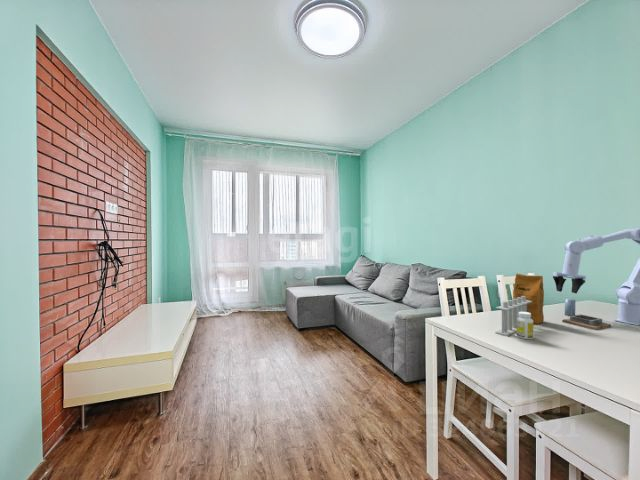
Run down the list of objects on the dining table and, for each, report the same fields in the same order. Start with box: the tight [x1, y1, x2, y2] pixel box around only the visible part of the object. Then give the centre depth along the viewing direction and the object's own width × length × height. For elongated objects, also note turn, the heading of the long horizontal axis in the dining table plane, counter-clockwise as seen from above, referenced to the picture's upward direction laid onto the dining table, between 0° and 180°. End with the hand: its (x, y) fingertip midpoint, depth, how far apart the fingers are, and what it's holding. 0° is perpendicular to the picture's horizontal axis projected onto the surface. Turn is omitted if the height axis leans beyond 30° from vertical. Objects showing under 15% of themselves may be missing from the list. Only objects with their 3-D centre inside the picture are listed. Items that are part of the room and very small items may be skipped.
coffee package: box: [512, 272, 545, 325], centre depth 133 cm, size 10×12×22 cm
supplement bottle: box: [516, 312, 534, 340], centre depth 112 cm, size 5×5×10 cm
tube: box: [564, 298, 576, 317], centre depth 141 cm, size 4×4×8 cm
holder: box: [561, 313, 612, 331], centre depth 127 cm, size 12×12×3 cm
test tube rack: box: [494, 296, 532, 337], centre depth 121 cm, size 25×4×13 cm, turn 124°
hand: (566, 292), depth 139 cm, fingers open, 7 cm apart
